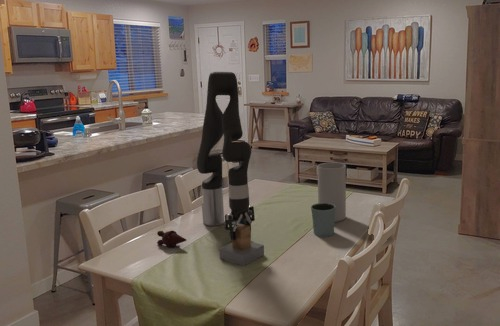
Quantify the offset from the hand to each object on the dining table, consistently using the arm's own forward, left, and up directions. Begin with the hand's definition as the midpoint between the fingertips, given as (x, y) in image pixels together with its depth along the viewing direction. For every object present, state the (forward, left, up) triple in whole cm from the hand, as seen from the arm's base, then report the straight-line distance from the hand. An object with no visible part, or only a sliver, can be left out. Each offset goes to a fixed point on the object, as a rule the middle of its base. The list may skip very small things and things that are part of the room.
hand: (240, 236), depth 177 cm
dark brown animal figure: (-31, -8, -8) cm, 33 cm away
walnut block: (0, 0, -4) cm, 4 cm away
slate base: (0, 0, -8) cm, 8 cm away
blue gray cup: (+13, +38, -8) cm, 41 cm away
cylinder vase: (+6, +57, -8) cm, 58 cm away
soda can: (-10, +12, -8) cm, 18 cm away
